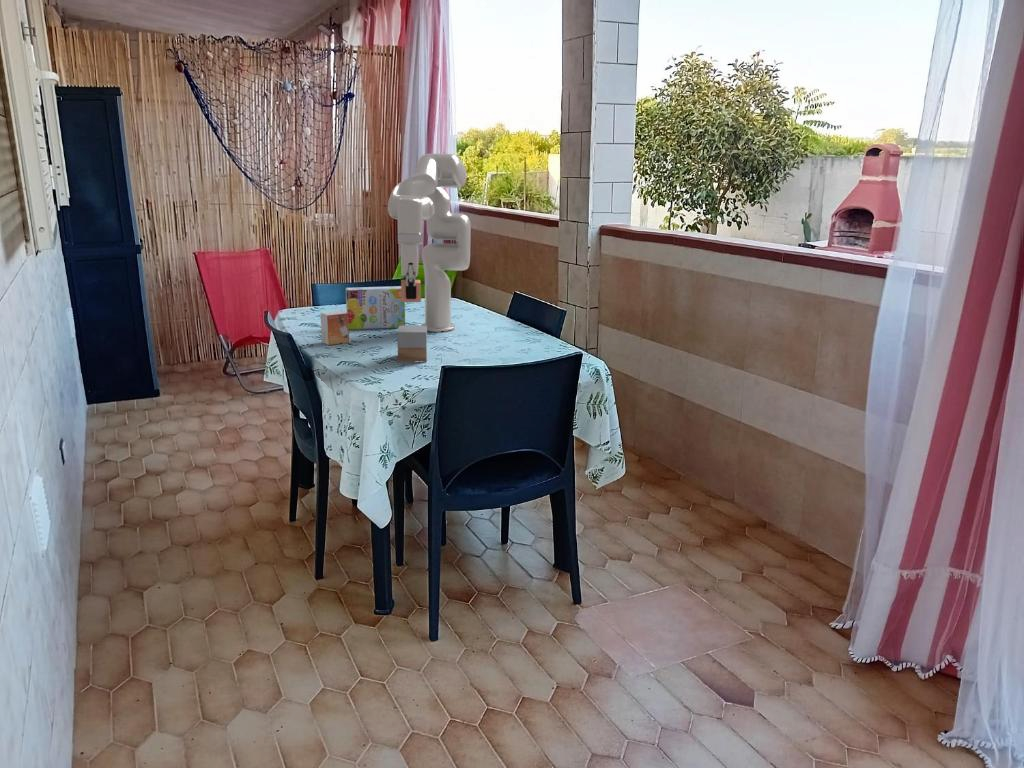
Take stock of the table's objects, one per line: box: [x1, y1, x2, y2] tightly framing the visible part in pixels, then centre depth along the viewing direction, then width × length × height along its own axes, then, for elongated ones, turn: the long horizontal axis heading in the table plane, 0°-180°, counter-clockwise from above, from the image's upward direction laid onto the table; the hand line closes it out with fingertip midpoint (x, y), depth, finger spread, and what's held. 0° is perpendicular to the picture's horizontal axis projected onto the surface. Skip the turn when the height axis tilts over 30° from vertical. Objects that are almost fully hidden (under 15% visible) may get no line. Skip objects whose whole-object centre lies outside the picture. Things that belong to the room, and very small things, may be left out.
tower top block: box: [396, 325, 428, 349], centre depth 247 cm, size 9×9×5 cm
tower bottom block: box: [397, 346, 428, 363], centre depth 249 cm, size 9×9×5 cm
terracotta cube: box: [400, 279, 422, 303], centre depth 243 cm, size 6×6×6 cm
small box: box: [320, 310, 350, 346], centre depth 265 cm, size 8×6×10 cm
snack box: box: [345, 285, 406, 330], centre depth 288 cm, size 21×6×15 cm, turn 104°
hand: (411, 296), depth 243 cm, fingers closed on terracotta cube, 6 cm apart
